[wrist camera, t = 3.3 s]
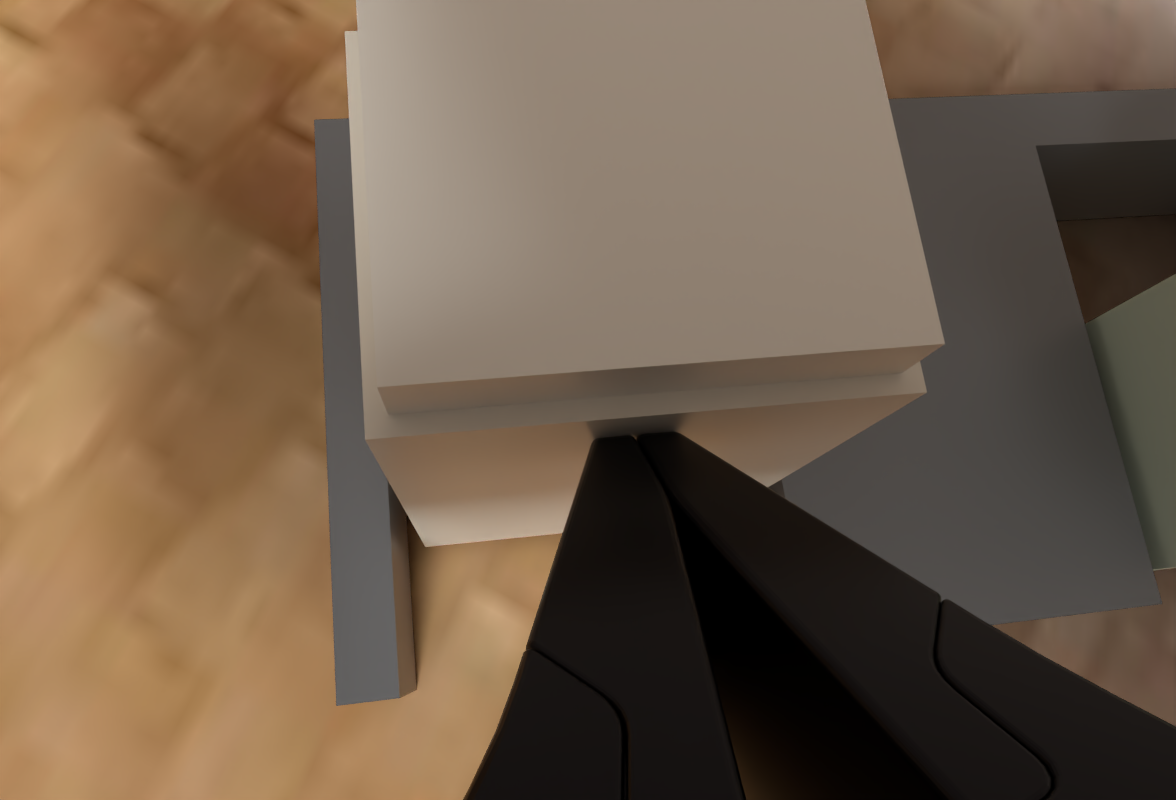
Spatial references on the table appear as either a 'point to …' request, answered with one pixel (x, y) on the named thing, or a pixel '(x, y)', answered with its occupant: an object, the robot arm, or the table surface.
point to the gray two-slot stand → (907, 436)
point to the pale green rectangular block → (1144, 406)
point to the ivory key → (622, 243)
